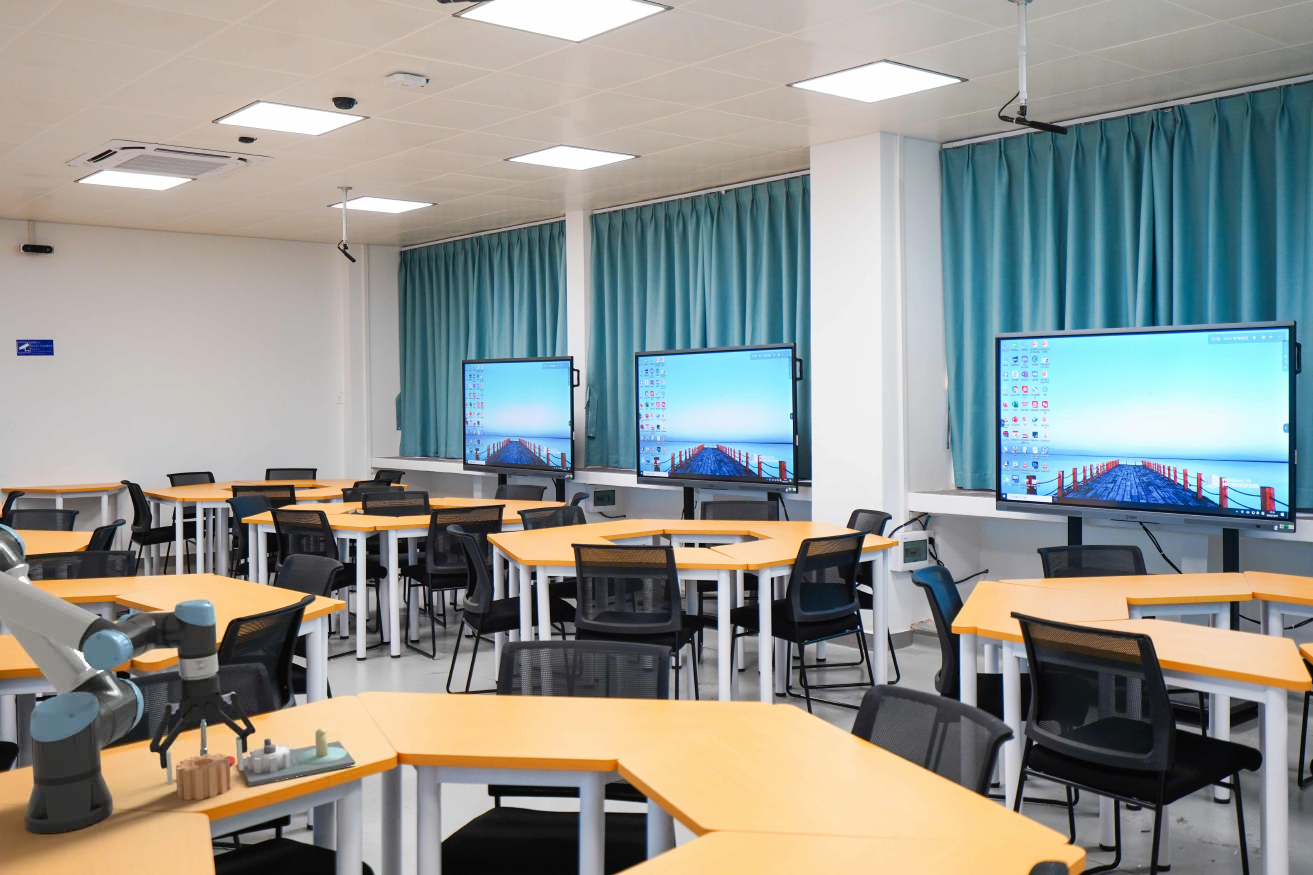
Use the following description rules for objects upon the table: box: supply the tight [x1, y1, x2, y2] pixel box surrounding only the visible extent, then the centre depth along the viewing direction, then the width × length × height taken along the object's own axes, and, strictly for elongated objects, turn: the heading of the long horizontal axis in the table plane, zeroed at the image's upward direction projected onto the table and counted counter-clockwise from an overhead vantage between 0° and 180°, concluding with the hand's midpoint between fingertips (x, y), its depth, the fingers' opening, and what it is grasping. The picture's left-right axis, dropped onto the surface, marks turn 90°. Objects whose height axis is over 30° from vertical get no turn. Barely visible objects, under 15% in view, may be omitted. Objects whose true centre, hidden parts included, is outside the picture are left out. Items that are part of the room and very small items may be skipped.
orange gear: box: [175, 753, 232, 801], centre depth 218 cm, size 10×10×6 cm
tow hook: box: [199, 719, 236, 767], centre depth 233 cm, size 8×13×9 cm
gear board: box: [241, 728, 356, 787], centre depth 232 cm, size 22×16×7 cm
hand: (205, 775), depth 218 cm, fingers open, 13 cm apart
